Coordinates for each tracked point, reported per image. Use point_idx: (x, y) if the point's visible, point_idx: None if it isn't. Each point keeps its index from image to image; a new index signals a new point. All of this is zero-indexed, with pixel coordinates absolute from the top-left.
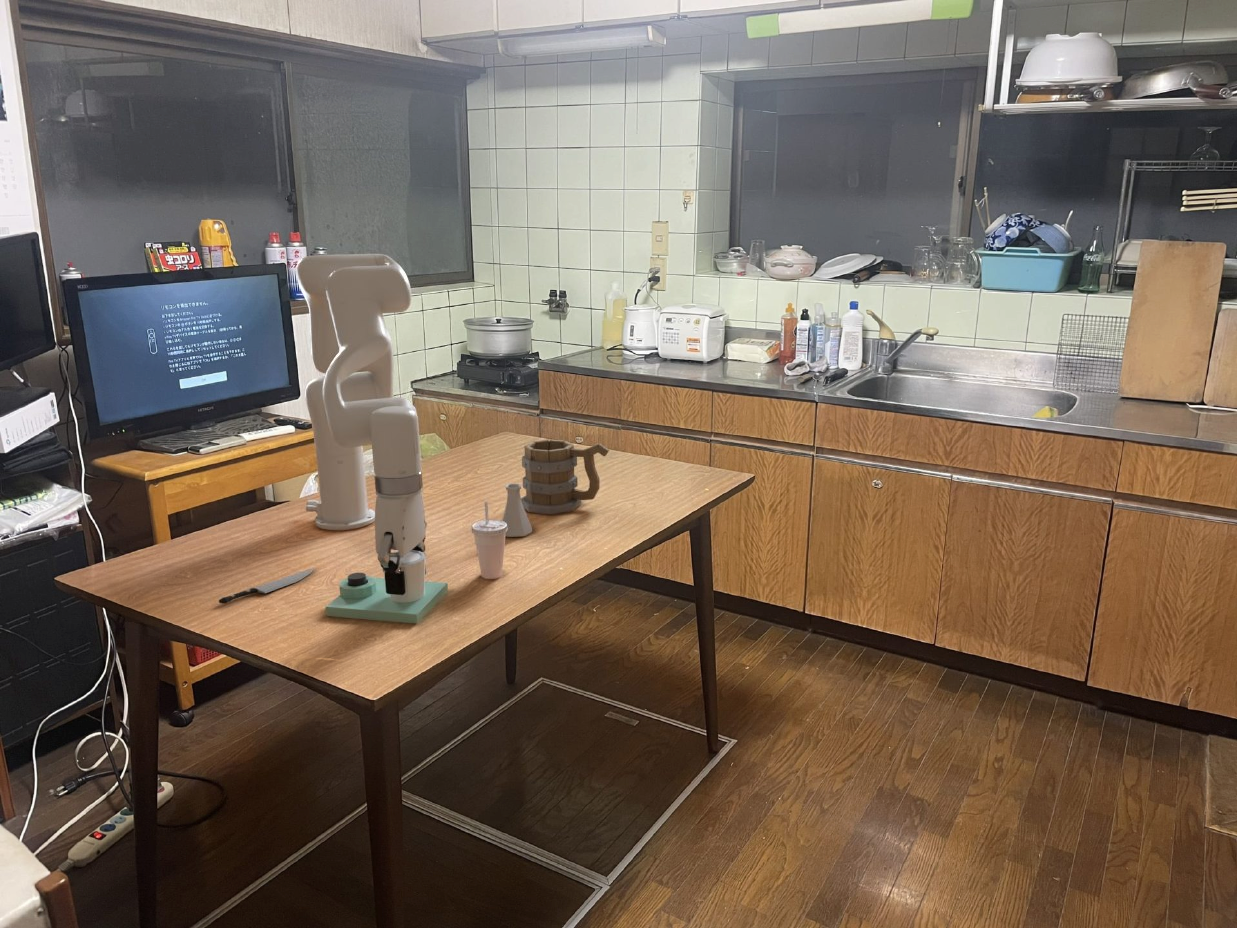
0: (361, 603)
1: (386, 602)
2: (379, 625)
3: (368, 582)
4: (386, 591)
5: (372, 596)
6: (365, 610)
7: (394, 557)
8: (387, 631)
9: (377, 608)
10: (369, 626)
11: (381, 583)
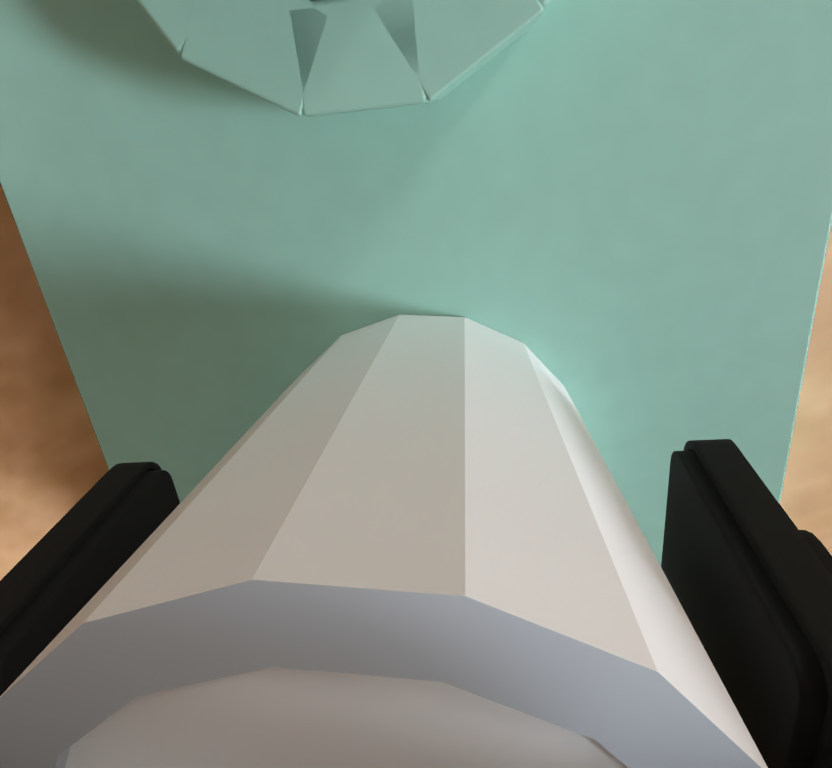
0: (110, 126)
1: (238, 354)
2: (67, 378)
3: (367, 11)
4: (111, 474)
5: (301, 140)
6: (30, 253)
7: (301, 757)
8: (32, 465)
9: (106, 340)
10: (17, 320)
11: (686, 13)
